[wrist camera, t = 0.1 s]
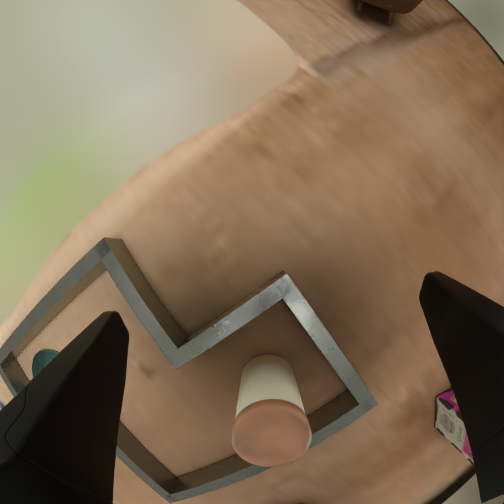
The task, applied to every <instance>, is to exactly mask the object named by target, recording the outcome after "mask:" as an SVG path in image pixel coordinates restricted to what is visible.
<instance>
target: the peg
mask: <svg viewBox="0 0 504 504" xmlns="http://www.w3.org/2000/svg"><path fill="white" fill-rule="evenodd" d="M231 440H232V445H233V448H234V450H235V452H236V453H237V454H238V455H239V456H240V457H241V458H242V459H244V460H245V461H247V462H249V463H251V464H254V465H258V466H264V467H275V466H281V465H285V464H288V463H291V462H293V461H295V460H297V459H298V458H299V457H301V456H302V455H303V454H304V453H305V452H306V451H307V449H308V448H309V446H310V444H311V440H312V431H311V428H310V425H309V421H308V418H307V416H306V414H305V410H304V407H303V404H302V400H301V397H300V393H299V390H298V386H297V383H296V380H295V376H294V373H293V369H292V367H291V366H290V364H289V363H288V362H287V361H286V360H285V359H283V358H281V357H279V356H276V355H261V356H258V357H255V358H253V359H252V360H250V361H249V362H248V363H247V364H246V365H245V367H244V369H243V371H242V375H241V382H240V389H239V396H238V403H237V410H236V416H235V421H234V424H233V431H232V439H231Z"/></svg>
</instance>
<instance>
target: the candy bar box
mask: <svg viewBox="0 0 504 504" xmlns="http://www.w3.org/2000/svg"><path fill="white" fill-rule="evenodd" d="M435 428H436V429H437V430H438V431H439V432H440V433H441V434H442V435H443V436H444V437H445V438H446V439H447V440H448V441H449V442H450V443H451V444H452V445H453V446H454V447H455V448H457V449H458V450H459V451H460V452H461V453H462V454H463V455H464V456H465V457H466V458H467V459H468V460H469V461H470V462H471V463H472V464H473V465H474V461H473V457H472V452H471V448H470V445H469V441H468V437H467V433H466V430H465V427H464V423H463V420H462V417H461V413H460V410H459V407H458V404H457V401H456V398H455V395H454V393H453V390H452V389H450V390H448V391H447V392H445V393H443V394H441V395H439V396H438V397H437V398H436V418H435ZM503 495H504V494H503Z"/></svg>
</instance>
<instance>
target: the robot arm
mask: <svg viewBox="0 0 504 504" xmlns="http://www.w3.org/2000/svg"><path fill="white" fill-rule="evenodd" d="M419 300H420V304H421V307H422V309H423V312H424V315H425V318H426V321H427V323H428V326H429V329H430V332H431V336H432V338H433V341H434V344H435V346H436V349H437V351H438V354H439V356H440V359H441V361H442V364H443V366H444V369H445V371H446V374H447V376H448V379H449V382H450V384H451V387H452V390H453V393H454V395H455V398H456V401H457V404H458V407H459V410H460V413H461V417H462V420H463V423H464V427H465V430H466V433H467V437H468V441H469V445H470V448H471V452H472V457H473V461H474V466H475V471H476V475H477V481H478V486H479V492H480V498H481V502H482V503H483V502H486V501H488V500H491V499H493V498H495V497H498V496H500V495H502V494H504V307H503V306H501V305H499V304H498V303H496V302H494V301H492V300H491V299H489V298H487V297H485V296H484V295H482V294H480V293H478V292H476V291H475V290H473V289H471V288H469V287H467V286H465V285H463V284H462V283H460V282H458V281H456V280H454V279H452V278H450V277H448V276H446V275H445V274H443V273H441V272H438V271H435V272H430V273H427V274H426V275H425V277H424V281H423V284H422V287H421V291H420V294H419ZM128 345H129V333H128V330H127V328H126V326H125V324H124V322H123V320H122V318H121V316H120V315H119V313H118V312H116V311H106V312H103V313H102V314H101V315H100V316H99V317H98V318H96V319H95V320H94V321H93V322H92V323H91V324H90V325H89V326H88V327H87V328H85V329H84V330H83V331H82V332H81V333H80V334H79V335H78V336H77V337H76V338H75V339H73V340H72V341H71V342H70V343H69V344H68V345H67V346H66V347H65V348H64V349H63V350H62V351H61V352H60V353H59V354H58V355H56V356H55V357H54V358H53V359H52V360H51V361H50V362H49V363H48V364H47V365H46V366H45V367H44V368H43V369H42V370H41V371H40V372H39V373H38V374H37V375H36V376H35V377H34V378H33V379H32V380H31V381H30V382H29V383H28V384H27V386H25V387H24V388H23V389H22V390H21V391H20V392H19V393H18V394H17V395H16V396H15V397H14V398H13V399H12V400H11V401H10V402H9V403H8V404H7V405H6V406H5V407H4V408H3V409H2V410H0V504H113V484H114V469H115V457H116V447H117V438H118V430H119V422H120V414H121V408H122V401H123V395H124V388H125V381H126V368H127V356H128ZM503 504H504V503H503Z"/></svg>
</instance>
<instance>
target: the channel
mask: <svg viewBox="0 0 504 504" xmlns="http://www.w3.org/2000/svg"><path fill="white" fill-rule="evenodd" d="M106 269H107V271H108V272H109V274H110V276H111V277H112V279H113V281H114V282H115V284H116V285H117V287H118V289H119V290H120V292H121V293H122V295H123V296H124V298H125V300H126V301H127V303H128V304H129V306H130V307H131V309H132V310H133V312H134V313H135V315H136V316H137V317H138V319H139V320H140V322H141V323H142V325H143V326H144V328H145V329H146V330H147V332H148V333H149V335H150V336H151V337H152V339H153V340H154V341H155V343H156V344H157V345H158V347H159V348H160V349H161V351H162V352H163V353H164V355H165V356H166V357H167V359H168V360H169V361H170V362H171V364H172V365H173V366H174V368H175V369H177V368H179V367H181V366H182V365H184V364H185V363H187V362H188V361H190V360H192V359H193V358H195V357H196V356H198V355H199V354H201V353H203V352H204V351H206V350H207V349H209V348H210V347H212V346H213V345H215V344H216V343H218V342H219V341H221V340H222V339H224V338H225V337H227V336H228V335H230V334H231V333H233V332H234V331H236V330H237V329H239V328H240V327H242V326H243V325H245V324H246V323H248V322H249V321H251V320H252V319H253V318H255V317H256V316H258V315H259V314H261V313H262V312H264V311H265V310H266V309H268V308H269V307H271V306H272V305H273V304H275V303H276V302H278V301H279V300H281V299H282V298H283V299H284V301H285V302H286V303H287V305H288V306H289V308H290V309H291V310H292V312H293V313H294V314H295V316H296V317H297V319H298V320H299V321H300V323H301V324H302V326H303V327H304V328H305V330H306V331H307V332H308V334H309V335H310V337H311V338H312V339H313V341H314V342H315V343H316V345H317V346H318V348H319V349H320V350H321V352H322V353H323V354H324V356H325V357H326V359H327V360H328V361H329V363H330V364H331V366H332V367H333V368H334V370H335V371H336V372H337V374H338V375H339V377H340V378H341V379H342V381H343V382H344V383H345V385H346V386H347V388H348V390H347V391H346V392H344V393H343V394H341V395H340V396H338V397H337V398H335V399H334V400H332V401H331V402H329V403H328V404H326V405H325V406H323V407H322V408H320V409H318V410H317V411H315V412H314V413H312V414H310V415H309V416H307V418H308V421H309V425H310V428H311V431H312V440H311V444H310V446H309V448H311V447H312V446H314V445H316V444H318V443H319V442H321V441H323V440H324V439H326V438H328V437H329V436H331V435H333V434H334V433H336V432H338V431H339V430H341V429H342V428H344V427H345V426H347V425H349V424H350V423H352V422H353V421H355V420H356V419H357V418H359V417H360V416H362V415H363V414H365V413H366V412H368V411H369V410H370V409H372V408H373V407H374V406H376V405H377V402H376V401H375V399H374V398H373V396H372V395H371V393H370V392H369V390H368V389H367V387H366V386H365V384H364V383H363V382H362V380H361V379H360V377H359V376H358V374H357V373H356V371H355V370H354V368H353V367H352V366H351V364H350V363H349V361H348V360H347V358H346V357H345V355H344V354H343V353H342V351H341V350H340V348H339V347H338V345H337V344H336V342H335V341H334V340H333V338H332V337H331V335H330V334H329V332H328V331H327V330H326V328H325V327H324V325H323V324H322V322H321V321H320V320H319V318H318V317H317V315H316V314H315V312H314V311H313V310H312V308H311V307H310V305H309V304H308V303H307V301H306V300H305V298H304V297H303V295H302V294H301V293H300V291H299V290H298V288H297V287H296V286H295V284H294V283H293V281H292V280H291V279H290V277H289V276H288V274H287V273H285V272H284V271H282V272H281V273H279V274H278V275H277V276H275V277H274V278H272V279H271V280H270V281H268V282H267V283H266V284H264V285H263V286H261V287H260V288H259V289H257V290H256V291H254V292H253V293H251V294H250V295H249V296H247V297H246V298H244V299H243V300H242V301H240V302H239V303H237V304H236V305H234V306H233V307H232V308H230V309H229V310H227V311H226V312H224V313H223V314H221V315H220V316H219V317H217V318H216V319H214V320H213V321H211V322H210V323H208V324H207V325H205V326H204V327H203V328H201V329H200V330H198V331H197V332H195V333H194V334H192V335H191V336H189V337H188V338H187V336H186V335H185V334H184V332H183V331H182V330H181V328H180V327H179V326H178V324H177V323H176V322H175V320H174V319H173V317H172V316H171V315H170V313H169V312H168V310H167V309H166V308H165V306H164V305H163V303H162V302H161V300H160V299H159V297H158V296H157V295H156V293H155V292H154V290H153V289H152V287H151V286H150V284H149V283H148V281H147V280H146V278H145V277H144V275H143V274H142V272H141V270H140V269H139V267H138V266H137V264H136V263H135V261H134V259H133V258H132V256H131V255H130V253H129V251H128V250H127V248H126V247H125V245H124V243H123V242H122V240H121V239H113V238H103V239H102V240H101V241H100V242H99V243H97V244H96V245H95V246H94V247H93V248H92V249H91V250H90V251H89V252H88V253H87V254H86V255H85V256H84V257H83V258H82V259H80V260H79V261H78V262H77V263H76V264H75V265H74V266H73V267H72V268H71V269H70V270H69V271H68V272H67V273H66V274H65V275H64V276H63V277H62V278H61V279H60V280H59V281H58V283H57V284H56V285H55V286H54V287H53V288H52V289H51V290H50V291H49V292H48V293H47V294H46V295H45V296H44V297H43V298H42V300H41V301H40V302H39V303H38V304H37V305H36V306H35V307H34V308H33V310H32V311H31V312H30V313H29V314H28V315H27V316H26V318H25V319H24V320H23V321H22V322H21V324H20V325H19V326H18V327H17V328H16V330H15V331H14V332H13V333H12V334H11V336H10V337H9V338H8V339H7V341H6V342H5V343H4V345H3V346H2V347H1V348H0V375H1V376H2V378H3V380H4V382H5V383H6V385H7V387H8V388H9V390H10V392H11V393H12V395H13V396H14V397H15V396H16V395H17V394H18V393H19V392H20V391H21V390H22V389H23V388H24V387H25V386H27V384H28V383H29V380H28V378H27V377H26V375H25V373H24V372H23V370H22V368H21V367H20V365H19V363H18V361H17V360H16V357H17V356H18V355H19V354H20V353H21V352H22V351H23V350H24V349H25V348H26V346H27V345H28V344H29V343H30V342H31V341H32V340H33V339H34V338H35V337H36V336H37V335H38V334H39V333H40V332H41V331H42V330H43V329H44V328H45V327H46V326H47V325H48V324H49V323H50V322H51V321H52V320H53V319H54V318H55V317H56V316H57V315H58V314H59V313H60V312H61V311H62V310H63V309H64V308H65V307H66V306H67V305H68V304H69V303H70V302H71V301H72V300H73V299H74V298H75V297H76V296H78V295H79V294H80V293H81V292H82V291H83V290H84V289H85V288H86V287H87V286H88V285H89V284H91V283H92V282H93V281H94V280H95V279H96V278H97V277H98V276H99V275H101V274H102V273H103V272H104V271H105V270H106ZM58 354H59V353H58V352H56V351H54V350H50V349H45V350H42V351H39V352H38V353H37V354H36V355H35V357H34V359H33V363H32V373H33V378H34V377H35V376H36V375H37V374H38V373H39V372H40V371H41V370H42V369H43V368H44V367H45V366H46V365H47V364H48V363H49V362H50V361H51V360H52V359H53V358H54V357H55V356H56V355H58ZM309 448H308V449H309ZM116 455H117V456H118V457H119V458H120V459H121V460H122V461H123V462H124V463H125V464H126V465H127V466H128V467H129V468H130V469H131V470H132V471H133V472H134V473H135V474H136V475H137V476H138V477H140V478H141V479H142V480H143V481H144V482H145V483H146V484H148V485H149V486H150V487H151V488H152V489H153V490H155V491H156V492H157V493H158V494H159V495H161V496H162V497H163V498H165V499H166V500H167V501H168V502H170V503H172V502H176V501H180V500H184V499H187V498H191V497H194V496H198V495H201V494H204V493H207V492H210V491H213V490H216V489H219V488H222V487H225V486H228V485H230V484H233V483H236V482H238V481H241V480H243V479H246V478H248V477H251V476H253V475H255V474H258V473H260V472H262V471H265V470H267V469H269V468H271V467H264V466H258V465H254V464H251V463H249V462H247V461H245V460H244V459H242V458H241V457H240V456H239V455H238V454H235V455H233V456H231V457H228V458H226V459H224V460H221V461H219V462H216V463H214V464H212V465H209V466H207V467H204V468H201V469H199V470H196V471H193V472H191V473H188V474H185V475H182V476H179V477H176V476H175V475H173V474H172V473H171V472H170V471H169V470H168V469H167V468H166V467H164V466H163V465H162V464H161V463H160V462H159V461H158V460H157V459H156V458H155V457H154V456H153V455H152V454H151V453H150V452H149V451H148V450H147V449H146V448H145V447H144V446H143V445H142V444H141V443H140V442H139V441H138V440H137V439H136V438H135V437H134V436H133V435H132V434H131V433H130V432H129V430H128V429H127V428H126V427H125V426H124V425H123V424H122V423H121V421H120V422H119V430H118V438H117V447H116Z"/></svg>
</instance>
